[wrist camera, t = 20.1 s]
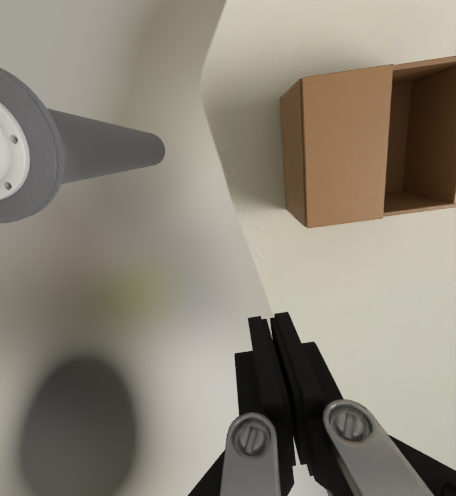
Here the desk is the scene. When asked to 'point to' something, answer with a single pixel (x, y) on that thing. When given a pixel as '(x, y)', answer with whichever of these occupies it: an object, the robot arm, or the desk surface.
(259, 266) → the desk surface
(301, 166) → the carton
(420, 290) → the desk surface
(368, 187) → the flap
